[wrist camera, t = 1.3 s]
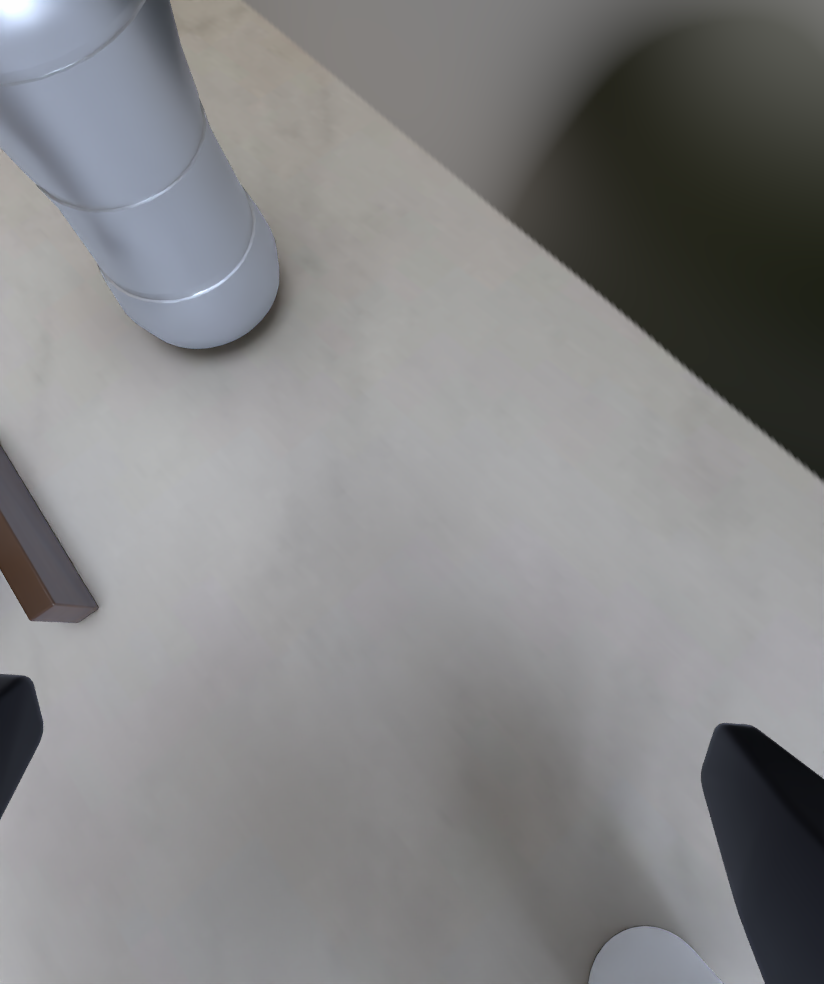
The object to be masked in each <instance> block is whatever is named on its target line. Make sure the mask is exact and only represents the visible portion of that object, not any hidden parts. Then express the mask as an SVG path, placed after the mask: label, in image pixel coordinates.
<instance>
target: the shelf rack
mask: <svg viewBox="0 0 824 984" xmlns="http://www.w3.org/2000/svg"><path fill="white" fill-rule="evenodd" d="M0 570H1V571H2V573H3V575H4V577H5V578H6V580H7V582H8V583H9V585H10V587H11V589H12V590H13V592H14V594H15V596H16V597H17V599H18V601H19V603H20V604H21V606H22V608H23V610H24V611H25V613H26V615H27V617H28V618H29V620H30V621H42V622H67V623H78V622H80V621H81V620H82V619H84V618H85V617H87V616H88V615H90V614H91V613H93V612H94V611H95V610H97V609H98V606H97V604H96V603H95V601H94V600H93V598H92V596H91V595H90V593H89V591H88V590H87V588H86V586H85V585H84V583H83V581H82V580H81V578H80V576H79V575H78V573H77V571H76V570H75V568H74V566H73V565H72V563H71V561H70V560H69V558H68V557H67V555H66V553H65V552H64V550H63V548H62V547H61V545H60V543H59V542H58V540H57V538H56V537H55V535H54V533H53V532H52V530H51V528H50V527H49V525H48V523H47V522H46V520H45V518H44V517H43V515H42V514H41V512H40V510H39V509H38V507H37V505H36V504H35V502H34V500H33V499H32V497H31V495H30V494H29V492H28V490H27V489H26V487H25V485H24V484H23V482H22V480H21V479H20V477H19V475H18V474H17V472H16V471H15V469H14V467H13V466H12V464H11V462H10V461H9V459H8V457H7V456H6V454H5V452H4V451H3V449H2V447H1V446H0Z"/></svg>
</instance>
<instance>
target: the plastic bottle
mask: <svg viewBox="0 0 824 984" xmlns="http://www.w3.org/2000/svg"><path fill="white" fill-rule="evenodd" d="M0 148H1V149H2V150H3V151H4V152H5V153H6V154H7V155H8V156H9V157H10V158H11V159H12V160H13V162H14V163H15V164H16V165H17V166H18V167H19V168H20V169H21V170H22V171H23V172H24V173H25V174H26V175H27V176H28V177H29V178H30V179H31V180H32V181H34V182H35V183H36V185H37V186H38V188H39V189H40V190H41V191H42V192H43V193H44V194H45V195H46V196H47V197H48V198H49V199H50V200H51V201H52V202H53V203H54V204H55V205H56V206H57V207H58V209H59V210H60V211H61V213H62V214H63V216H64V217H65V218H66V220H67V221H68V223H69V224H70V225H71V227H72V228H73V230H74V231H75V232H76V234H77V235H78V237H79V238H80V239H81V241H82V242H83V244H84V245H85V247H86V248H87V249H88V251H89V252H90V254H91V255H92V256H93V258H94V259H95V261H96V262H97V264H98V267H99V270H100V272H101V274H102V276H103V278H104V280H105V282H106V284H107V285H108V287H109V288H110V290H111V291H112V293H113V295H114V296H115V298H116V299H117V301H118V302H119V304H120V305H121V307H122V309H123V310H124V312H125V313H126V314H127V315H128V316H129V317H130V318H131V319H132V320H133V321H134V322H135V323H136V324H138V325H139V326H141V327H142V328H144V329H145V330H147V331H148V332H150V333H151V334H153V335H154V336H156V337H158V338H159V339H161V340H163V341H165V342H166V343H169V344H172V345H175V346H178V347H183V348H190V349H203V348H212V347H216V346H221V345H224V344H227V343H229V342H232V341H234V340H236V339H238V338H240V337H242V336H243V335H245V334H246V333H248V332H249V331H250V330H252V329H253V328H254V327H255V326H256V325H257V324H258V323H259V322H260V321H261V320H262V319H263V318H264V316H265V315H266V314H267V312H268V311H269V310H270V308H271V306H272V304H273V302H274V300H275V298H276V294H277V290H278V287H279V274H280V272H279V263H278V254H277V248H276V242H275V238H274V236H273V233H272V231H271V229H270V227H269V225H268V223H267V222H266V220H265V218H264V217H263V215H262V213H261V212H260V210H259V208H258V207H257V205H256V204H255V203H254V201H253V200H252V199H251V197H250V196H249V195H248V193H247V192H246V191H245V189H244V188H243V187H242V185H241V184H240V182H239V180H238V179H237V177H236V175H235V173H234V171H233V169H232V167H231V165H230V164H229V162H228V160H227V158H226V156H225V154H224V152H223V150H222V149H221V147H220V145H219V143H218V141H217V139H216V137H215V135H214V133H213V132H212V130H211V128H210V125H209V122H208V119H207V117H206V114H205V111H204V108H203V106H202V104H201V101H200V99H199V95H198V91H197V88H196V86H195V83H194V80H193V77H192V74H191V72H190V69H189V66H188V63H187V60H186V58H185V55H184V52H183V49H182V47H181V43H180V39H179V35H178V31H177V27H176V23H175V20H174V16H173V12H172V8H171V4H170V0H0Z"/></svg>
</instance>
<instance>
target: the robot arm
mask: <svg viewBox="0 0 824 984" xmlns="http://www.w3.org/2000/svg"><path fill="white" fill-rule="evenodd" d="M42 734H43V719H42V715H41V711H40V707H39V703H38V699H37V695H36V691H35V687H34V684H33V682H32V680H31V679H30V678H29V677H26V676H22V675H7V674H0V819H1V817H2V815H3V813H4V811H5V809H6V807H7V805H8V803H9V801H10V800H11V798H12V796H13V794H14V792H15V790H16V788H17V786H18V784H19V782H20V780H21V778H22V776H23V774H24V772H25V770H26V768H27V766H28V764H29V763H30V761H31V759H32V757H33V755H34V753H35V751H36V749H37V747H38V745H39V743H40V740H41V737H42ZM701 783H702V788H703V792H704V796H705V799H706V803H707V806H708V810H709V813H710V817H711V820H712V824H713V828H714V831H715V835H716V838H717V842H718V845H719V849H720V852H721V856H722V859H723V863H724V866H725V870H726V873H727V877H728V880H729V884H730V887H731V891H732V894H733V897H734V901H735V904H736V907H737V910H738V914H739V916H740V919H741V922H742V925H743V927H744V930H745V933H746V936H747V938H748V941H749V943H750V946H751V949H752V951H753V954H754V956H755V959H756V961H757V964H758V966H759V969H760V972H761V974H762V977H763V979H764V982H765V984H824V779H823V778H822V777H820V776H819V775H818V774H816V773H815V772H814V771H813V770H811V769H810V768H809V767H807V766H806V765H805V764H803V763H802V762H801V761H799V760H798V759H797V758H795V757H794V756H793V755H791V754H790V753H789V752H787V751H786V750H785V749H783V748H782V747H781V746H780V745H778V744H777V743H776V742H774V741H773V740H772V739H770V738H769V737H768V736H766V735H765V734H764V733H762V732H761V731H760V730H758V729H757V728H755V727H753V726H751V725H746V724H732V723H722V724H719V725H718V726H717V727H716V728H715V730H714V732H713V735H712V738H711V741H710V744H709V747H708V751H707V754H706V757H705V760H704V763H703V766H702V771H701Z"/></svg>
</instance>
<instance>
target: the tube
mask: <svg viewBox="0 0 824 984" xmlns="http://www.w3.org/2000/svg"><path fill="white" fill-rule="evenodd" d="M588 984H724V983H723V982H722V981H721V980H720V979H719V978H718V976H717V975H716V974H715V973H714V972H713V971H712V970H711V969H710V967H709V966H708V965H707V964H706V963H705V962H704V961H703V960H702V958H701V957H700V956H699V955H698V954H697V953H696V952H695V951H694V949H693V948H692V947H691V946H689V945H688V944H687V943H686V942H685V941H684V940H683V939H682V938H680V937H678V936H677V935H675V934H673V933H671V932H670V931H667V930H664V929H661V928H658V927H650V926H640V927H633V928H630V929H627V930H624V931H622V932H620V933H619V934H617V935H615V936H614V937H612V938H611V939H610V940H609V941H608V942H607V943H606V944H605V945H604V946H603V947H602V949H601V950H600V952H599V953H598V955H597V957H596V958H595V961H594V963H593V966H592V968H591V972H590V977H589V982H588Z"/></svg>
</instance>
